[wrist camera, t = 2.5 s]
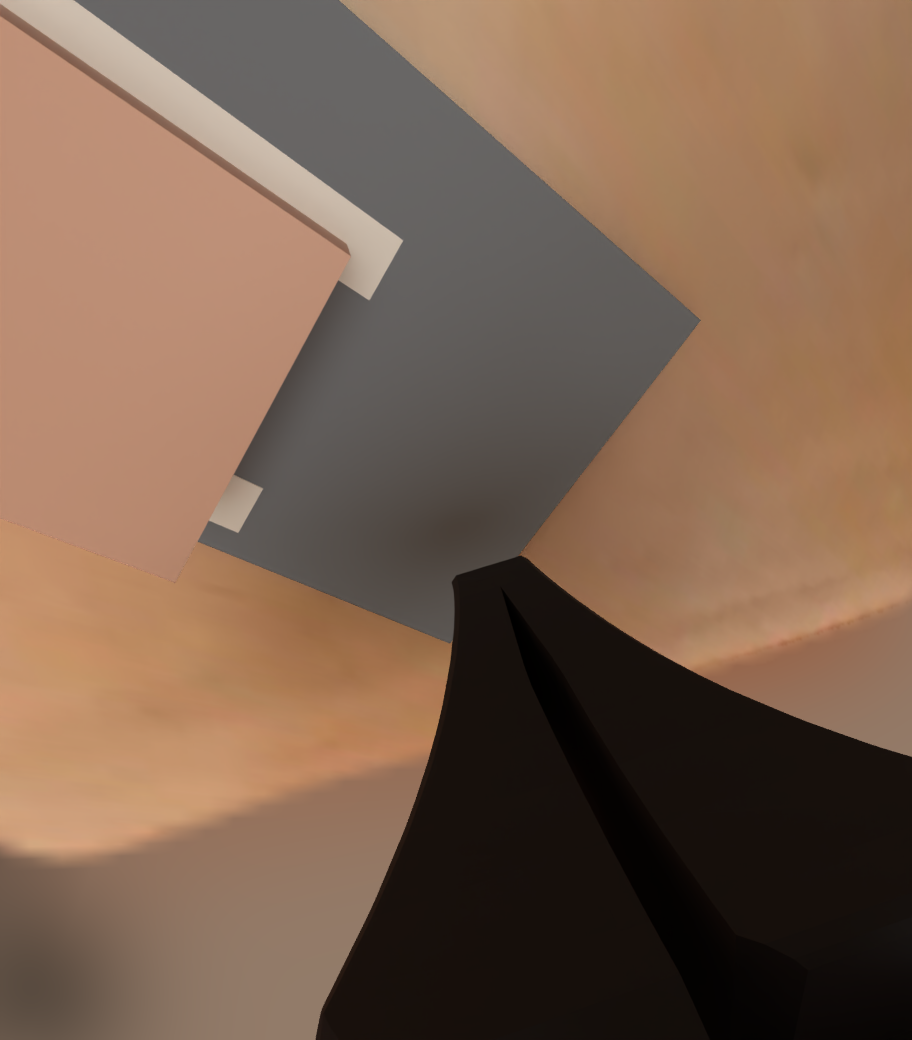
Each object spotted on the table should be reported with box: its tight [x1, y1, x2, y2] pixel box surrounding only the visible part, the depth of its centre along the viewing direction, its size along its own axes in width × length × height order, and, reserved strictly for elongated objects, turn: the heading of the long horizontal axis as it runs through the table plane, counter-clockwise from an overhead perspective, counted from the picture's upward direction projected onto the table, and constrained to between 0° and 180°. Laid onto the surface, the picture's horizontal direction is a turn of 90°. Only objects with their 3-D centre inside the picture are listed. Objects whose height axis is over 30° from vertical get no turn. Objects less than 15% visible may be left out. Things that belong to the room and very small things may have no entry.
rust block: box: [0, 4, 351, 583], centre depth 10 cm, size 7×7×4 cm
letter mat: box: [0, 0, 701, 643], centre depth 13 cm, size 18×12×1 cm, turn 56°
